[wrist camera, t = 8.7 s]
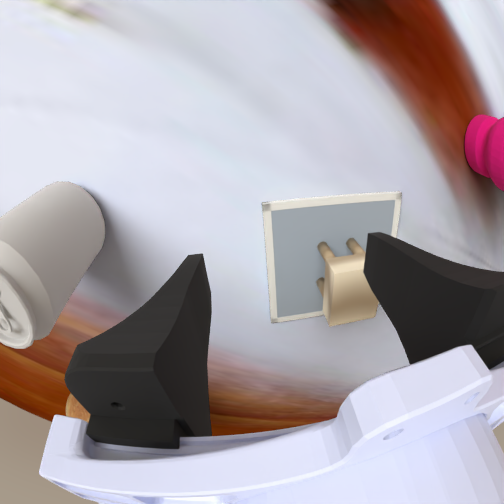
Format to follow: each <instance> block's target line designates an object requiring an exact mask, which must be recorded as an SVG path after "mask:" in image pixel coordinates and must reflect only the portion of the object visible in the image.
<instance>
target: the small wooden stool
mask: <svg viewBox="0 0 504 504" xmlns="http://www.w3.org/2000/svg"><path fill="white" fill-rule="evenodd" d="M346 245H347V247H348V248H349V249H350V251H351V252H352V253H353V255H348V256H341V257H335V255H334V254H333V252H332V250H331V249H330V247H329V246H328V244H327V243H326V242H320V243H319V244H318V246H317V249H318V250H319V252H320V254H321V256H322V257H323V259H324V261H325V278H323V277H321V278H319V279H317V281H316V284H317V286H318V288H319V290H320V292H321V295H322V297H323V312H324V315H325V317H326V320H327V322H328V324H329V327H330V326H335V325H340V324H345V323H350V322H355V321H360V320H364V319H369V318H373V317H375V315H376V311H377V306H378V302H379V301H378V300H377V298H376V296H375V295H374V293H373V292H372V290H371V288H370V286H369V284H368V282H367V280H366V277H365V275H364V273H363V269H364V262H365V254H366V252H365V251H364V250H363V249H362V247H361V246H360V245H359V244H358V243H357V241H356V240H355V239H354V238H349V239H348V240H347V241H346Z"/></svg>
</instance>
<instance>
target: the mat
mask: <svg viewBox="0 0 504 504" xmlns="http://www.w3.org/2000/svg"><path fill="white" fill-rule="evenodd" d="M401 196H402V193H401V192H400V191H394V192H376V193H360V194H346V195H333V196H321V197H310V198H299V199H289V200H279V201H270V202H262V211H263V223H264V236H265V248H266V261H267V275H268V288H269V302H270V316H271V323H277V322H284V321H291V320H297V319H303V318H310V317H315V316H321V315H324V312H323V297H322V295H321V292H320V290H319V288H318V286H317V284H316V281H317V279H319V278H321V277H323V278H325V261H324V259H323V257H322V256H321V254H320V252H319V250H318V249H317V246H318V244H319V243H320V242H326V243H327V244H328V246H329V247H330V249H331V250H332V252H333V254H334V255H335V257H341V256H348V255H353V253H352V252H351V251H350V249H349V248H348V247H347V245H346V241H347V240H348V239H349V238H354V239H355V240H356V241H357V243H358V244H359V245H360V246H361V247H362V249H363V250H364V251H365V252H366V245H367V236H368V233H374V232H382V233H385V234H388V235H390V236H393V237H395V238H396V236H397V229H398V222H399V214H400V205H401ZM378 304H380V303H379V302H378Z"/></svg>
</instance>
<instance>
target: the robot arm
mask: <svg viewBox="0 0 504 504" xmlns="http://www.w3.org/2000/svg"><path fill="white" fill-rule="evenodd" d="M363 273H364V275H365V277H366V280H367V282H368V284H369V286H370V288H371V290H372V292H373V293H374V295H375V296H376V298H377V300H378V301H379V303H380V304H381V306H382V308H383V309H384V311H385V312H386V314H387V315H388V317H389V319H390V320H391V322H392V324H393V325H394V327H395V329H396V331H397V333H398V335H399V338H400V340H401V342H402V344H403V347H404V349H405V352H406V355H407V357H408V360H409V363H410V365H408V366H405V367H402V368H399V369H395V370H392V371H389V372H386V373H384V374H381V375H379V376H377V377H374V378H372V379H370V380H367V381H366V382H364V383H363V384H362V385H360V386H359V387H357V388H356V389H354V390H353V391H352V392H351V393H350V394H349V395H348V397H347V398H346V399H345V401H344V402H343V403H342V405H341V406H340V409H339V412H338V415H337V417H336V418H334V419H331V420H328V421H324V422H319V423H314V424H309V425H304V426H299V427H293V428H287V429H281V430H274V431H267V432H259V433H250V434H239V435H227V436H212V431H211V421H210V409H209V395H208V373H207V356H208V345H209V334H210V324H211V313H212V311H211V291H210V286H209V282H208V277H207V272H206V267H205V263H204V258H203V254H195V255H188V256H187V257H186V259H185V260H184V261H183V262H182V264H181V265H180V266H179V268H178V269H177V270H176V271H175V273H174V274H173V275H172V276H171V277H170V279H169V280H168V281H167V282H166V283H165V284H164V285H163V286H162V287H161V289H160V290H159V291H158V292H157V293H156V294H155V295H154V296H153V297H152V298H151V299H150V300H149V301H147V302H146V303H145V304H144V305H143V306H142V307H141V308H139V309H138V310H137V311H135V312H134V313H133V314H131V315H130V316H129V317H127V318H126V319H125V320H123V321H122V322H120V323H119V324H117V325H116V326H114V327H112V328H111V329H109V330H107V331H106V332H104V333H102V334H100V335H98V336H96V337H94V338H92V339H90V340H88V341H86V342H83V343H81V344H79V345H77V347H76V349H75V351H74V354H73V356H72V359H71V361H70V364H69V366H68V369H67V371H66V374H65V383H66V386H67V388H68V389H69V391H70V392H71V394H72V395H73V396H74V397H75V398H76V399H77V401H78V402H79V403H80V404H81V405H82V406H83V407H84V408H85V409H86V410H87V411H88V412H89V413H90V418H89V422H86V421H84V420H82V419H79V418H73V417H67V416H62V415H54V418H53V421H52V425H51V428H50V432H49V435H48V439H47V442H46V446H45V450H44V454H43V458H42V462H41V466H40V471H39V474H40V475H41V476H42V477H44V478H46V479H47V480H49V481H51V482H53V483H54V484H56V485H58V486H60V487H62V488H64V489H65V490H67V491H69V492H71V493H73V494H76V495H77V496H79V497H82V498H85V499H88V500H92V501H96V502H98V503H99V504H504V453H503V451H502V449H501V447H500V445H499V443H498V441H497V439H496V437H495V435H494V433H493V431H492V430H493V429H494V428H495V427H497V426H498V425H499V424H501V423H502V422H503V421H504V272H497V271H490V270H484V269H479V268H474V267H470V266H466V265H462V264H459V263H455V262H452V261H449V260H446V259H443V258H441V257H438V256H436V255H433V254H431V253H428V252H426V251H424V250H421V249H419V248H417V247H415V246H413V245H410V244H408V243H406V242H404V241H402V240H399V239H397V238H395V237H393V236H390V235H388V234H385V233H382V232H374V233H368V236H367V245H366V254H365V262H364V269H363Z"/></svg>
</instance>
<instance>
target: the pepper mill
mask: <svg viewBox="0 0 504 504" xmlns="http://www.w3.org/2000/svg"><path fill="white" fill-rule="evenodd" d="M465 154H466V158H467V161H468V163H469V165H470V167H471V168H472V169H473V170H474V171H475V172H477V173H479V174H481V175H483V176H485V177H488V178H491V179H492V181H493V182H494V184H495V185H496V186H497V187H498V188H499V189H501V190H502V191H504V117H503V118H501V119H499V120H498V119H497V118H495V117H491V116H487V115H478V116H475V117H474V118H473V119H472V120H471V121H470V123H469V125H468V127H467V131H466V134H465Z"/></svg>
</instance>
